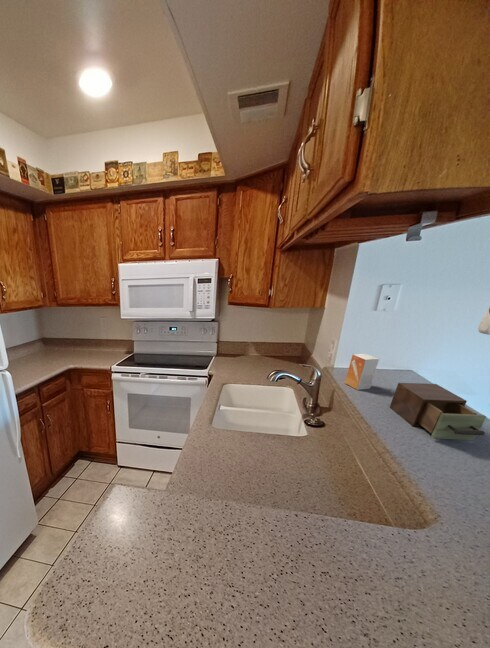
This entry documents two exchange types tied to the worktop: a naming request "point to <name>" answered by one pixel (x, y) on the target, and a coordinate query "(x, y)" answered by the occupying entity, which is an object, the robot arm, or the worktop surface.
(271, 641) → the worktop surface
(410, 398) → the cabinet
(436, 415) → the drawer
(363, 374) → the small box
